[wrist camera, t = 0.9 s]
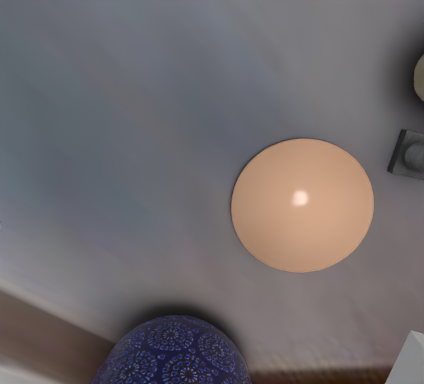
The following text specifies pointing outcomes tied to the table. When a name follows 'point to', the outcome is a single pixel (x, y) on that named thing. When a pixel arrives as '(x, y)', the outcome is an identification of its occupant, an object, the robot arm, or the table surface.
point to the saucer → (302, 205)
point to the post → (408, 155)
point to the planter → (174, 355)
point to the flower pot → (419, 78)
